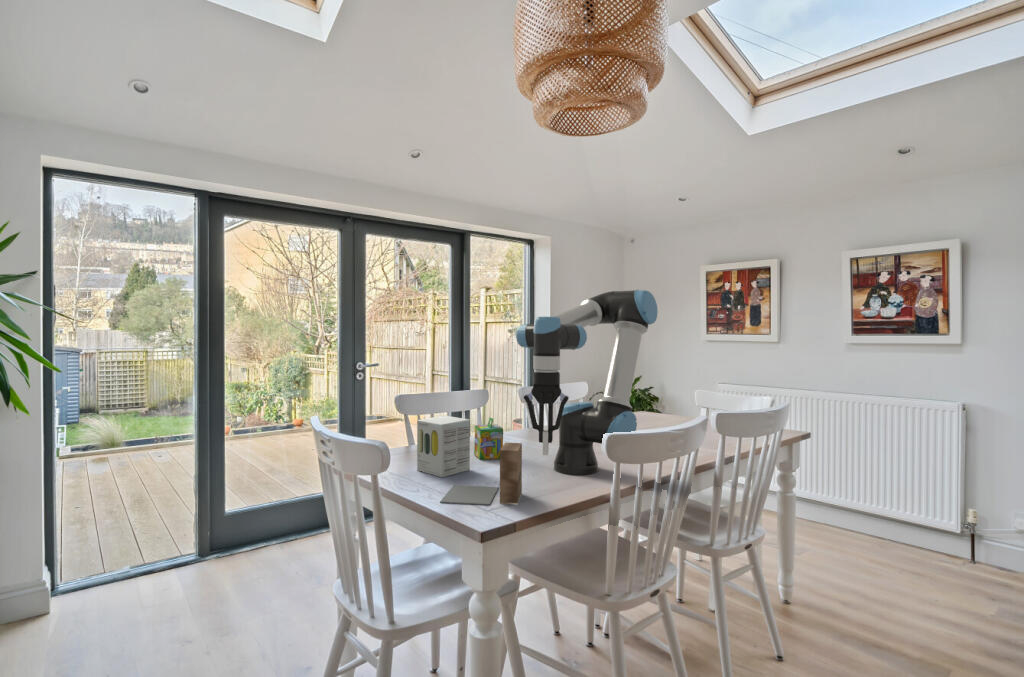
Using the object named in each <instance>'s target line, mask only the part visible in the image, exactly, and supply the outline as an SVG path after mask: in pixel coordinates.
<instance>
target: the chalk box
mask: <svg viewBox="0 0 1024 677" xmlns="http://www.w3.org/2000/svg"><path fill="white" fill-rule="evenodd" d="M493 423H494V418H492V417H489V419H488V422H487V424H480V425H479V424H475V425H474V446H473V447H474V449H473V451H474V452H473V454H474V456H475V457H476V458H477V459H478V460H480V461H482V460H483V461H486V460H500V449H501V448H502V446H503V445H504V428H503V427H502V426H500V425H499V424H493Z"/></svg>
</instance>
